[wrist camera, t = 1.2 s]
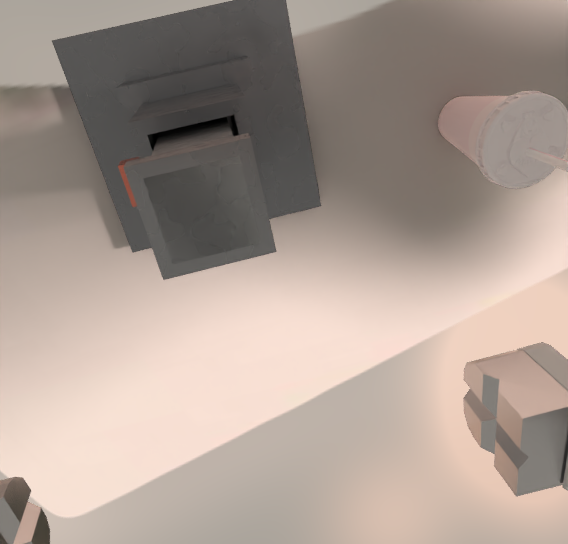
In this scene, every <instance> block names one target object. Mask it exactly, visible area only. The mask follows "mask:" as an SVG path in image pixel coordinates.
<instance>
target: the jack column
mask: <svg viewBox="0 0 568 544" xmlns="http://www.w3.org/2000/svg"><path fill="white" fill-rule="evenodd" d="M123 168H124V171H125V174H126V176H127V179H128V182H129V185H130V188H131V190H132V193H133V196H134V199H135V202H136V204H137V207H138V210H139V213H140V216H141V218H142V221H143V224H144V227H145V229H146V232H147V235H148V238H149V241H150V243H151V246H152V249H153V252H154V255H155V257H156V260H157V263H158V266H159V268H160V271H161V274H162V277H163V280H165V279H169V278H173V277H177V276H181V275H185V274H189V273H193V272H197V271H201V270H205V269H209V268H213V267H217V266H221V265H225V264H229V263H233V262H237V261H241V260H245V259H249V258H253V257H257V256H261V255H265V254H269V253H273V252H276V248H275V243H274V239H273V234H272V230H271V226H270V221H269V217H268V212H267V208H266V204H265V199H264V195H263V190H262V186H261V182H260V177H259V173H258V168H257V164H256V160H255V155H254V151H253V146H252V142H251V138H250V136H249V134H248V133H246V134H241V135H237V136H233V135H232V132H231V129H230V126H229V123H228V119H227V116H226V117H222V118H217V119H213V120H209V121H205V122H200V123H196V124H192V125H188V126H183V127H179V128H175V129H170V130H166V131H162V132H160V133H159V136H158V139H157V142H156V144H155V147H154V150H153V153H152V155H151V156H148V157H144V158H140V159H136V160H131V161H127V162H126V164H125V165H124V167H123Z"/></svg>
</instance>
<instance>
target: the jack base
mask: <svg viewBox="0 0 568 544" xmlns="http://www.w3.org/2000/svg"><path fill="white" fill-rule="evenodd" d="M52 42H53V45H54V47H55V50H56V53H57V55H58V58H59V60H60V63H61V66H62V68H63V71H64V74H65V76H66V79H67V82H68V84H69V87H70V89H71V92H72V95H73V97H74V100H75V103H76V105H77V108H78V110H79V113H80V116H81V118H82V121H83V124H84V126H85V129H86V131H87V134H88V137H89V139H90V142H91V145H92V147H93V150H94V152H95V155H96V158H97V160H98V163H99V166H100V168H101V171H102V173H103V176H104V179H105V181H106V184H107V187H108V189H109V192H110V194H111V197H112V200H113V202H114V205H115V207H116V210H117V213H118V215H119V218H120V221H121V223H122V226H123V228H124V231H125V234H126V236H127V239H128V242H129V244H130V247H131V249H132V252H136V251H140V250H144V249H148V248H152V246H151V243H150V241H149V238H148V235H147V232H146V229H145V227H144V224H143V221H142V218H141V216H140V213H139V210H138V207H137V204H136V202H135V199H134V196H133V193H132V190H131V188H130V185H129V182H128V179H127V176H126V174H125V171H124V168H123V167H124V165H125V164H126V162H127V161H131V160H136V159H140V158H144V157H148V156H151V155H152V153H153V150H154V147H155V144H156V142H157V139H158V136H159V133H160V132H162V131H166V130H170V129H175V128H179V127H183V126H188V125H192V124H196V123H200V122H205V121H209V120H213V119H217V118H222V117H226V116H227V119H228V123H229V126H230V129H231V132H232V135H233V136H237V135H241V134H246V133H248V134H249V136H250V138H251V142H252V146H253V151H254V155H255V160H256V164H257V168H258V173H259V177H260V182H261V186H262V190H263V195H264V199H265V204H266V208H267V212H268V217H269V219H270V218H275V217H279V216H283V215H287V214H291V213H295V212H299V211H303V210H307V209H311V208H315V207H319V206H321V203H320V197H319V191H318V185H317V179H316V174H315V168H314V162H313V156H312V150H311V144H310V139H309V133H308V127H307V121H306V115H305V109H304V103H303V98H302V92H301V86H300V80H299V74H298V68H297V63H296V57H295V51H294V45H293V39H292V33H291V28H290V22H289V16H288V10H287V5H286V0H233V1H229V2H224V3H220V4H215V5H211V6H207V7H202V8H197V9H193V10H189V11H184V12H179V13H175V14H170V15H166V16H162V17H157V18H152V19H148V20H143V21H139V22H134V23H130V24H125V25H121V26H117V27H112V28H108V29H103V30H98V31H94V32H89V33H85V34H80V35H76V36H71V37H67V38H62V39H58V40H53V41H52Z"/></svg>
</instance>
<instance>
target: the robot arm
mask: <svg viewBox="0 0 568 544" xmlns="http://www.w3.org/2000/svg"><path fill="white" fill-rule="evenodd" d="M464 381H465V382H466V383H467V384H468V386H469V387H470V389H469V391H468V392H467V394H466V395H465V397H464V414H465V417H466V421H467V424H468V427H469V429H470V431H471V433H472V435H473V437H474V438H475V440H476V441H477V443H478V444H479V445H480V447H481V448H483V449H485V450H487V451H489V452H491V453H493V454H495V461H494V466H495V468H496V469H497V471H498V472H499V473H500V475H501V476H502V477H503V479H504V480H505V482H506V483H507V484H508V486H509V487H510V488H511V490H512V491H513V493H514V494H515V495H516V496H520V495H524V494H528V493H532V492H536V491H540V490H544V489H548V488H552V487H556V486H560V485H563V488H564V489H566V490H568V360H567V359H566V358H565V357H564V356H563V355H561V354H560V353H559V352H558V351H557V350H555V349H554V348H553V347H552V346H551V345H549V344H546V343H543V342H541V343H537V344H534V345H530V346H526V347H523V348H519V349H517V350H513V351H509V352H505V353H501V354H498V355H494V356H490V357H486V358H482V359H479V360H475V361H471V362H467V363H466V365H465V368H464ZM30 493H31V489H30V488H29V486H28V485H27V483H26V482H25V480H24V479H23V478H21V477H12V478H8V479H4V480H0V544H50V528H49V525H48V521H47V517H46V515H45V514H44V512H43V510H42V508H41V507H38V506H36V505H34V504H32V503H30V502H28V499H29V496H30Z"/></svg>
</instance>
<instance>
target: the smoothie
mask: <svg viewBox="0 0 568 544" xmlns="http://www.w3.org/2000/svg"><path fill="white" fill-rule="evenodd" d="M438 128H439V131H440V133H441V135H442V136H443V137H444V138H445V139H446V140H448V141H449V142H450V143H451V144H452V145H454V146H455V147H456V148H457V149H459V150H460V151H461V152H462V153H463V154H465V155H466V156H467V157H468V158H470V159H471V160H472V161H473V162H475V163H476V164H477V165H478V166H479V168H480V170H481V172H482V174H483V175H484V176H485V177H486V178H487V179H488V180H489V181H491V182H493V183H495V184H498V185H501V186H503V187H506V188H512V189H519V188H525V187H528V186H531V185H534V184H536V183H538V182H539V181H541V180H543V179H544V178H545V177H547V176H548V175H549V174H550V173H551V172H552V171H553V170H554V169H555V168H556V167H557V168H560V169H563V170H565V171H568V161H567V160H564V159H562V158H563V157H564V155H565V153H566V151H567V148H568V111H567V109H566V107H565V106H564V104H563V103H562V102H561V101H560V100H558V99H557V98H555V97H554V96H551V95H548V94H545V93H544V92H538V91H533V90H531V91H523V92H518V93H516V94H513V95H511V96H460V97H456V98H454V99H452V100H450V101H449V102H448V103H447V104H446V105H445V106H444V107H443V109H442V110H441V112H440V115H439V119H438Z"/></svg>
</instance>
